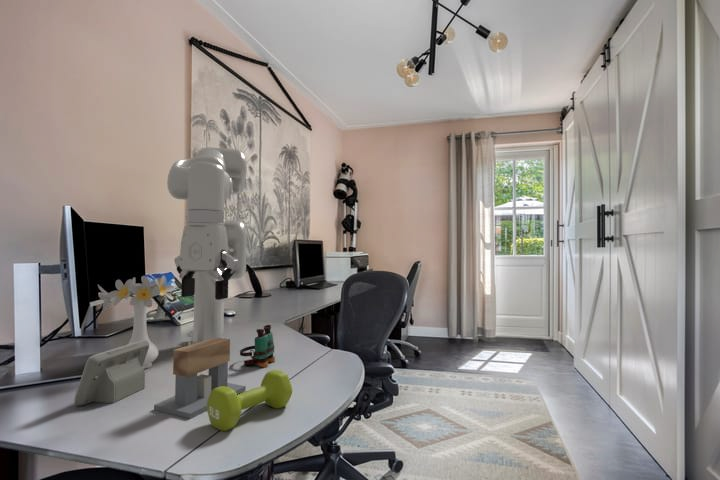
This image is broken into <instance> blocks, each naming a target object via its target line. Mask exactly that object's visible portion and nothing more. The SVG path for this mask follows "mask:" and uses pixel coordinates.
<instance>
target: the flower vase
mask: <svg viewBox="0 0 720 480" xmlns="http://www.w3.org/2000/svg"><path fill="white" fill-rule="evenodd" d="M140 281H141V283H138V282H137V283H136V277H133V278H130V279H126V281H125V283H123V281H122V280H121V279H117V280H115V288H116V289H117V290H112V291H110V292H107V290H105V289H104V288H103V287H102V286H100V285H99V284H97V287H98V290H100V292H98V293H97V294H98V298H99V299H100V300H102V301H103V302H102V310H103V312H105V311H106V310H108V305H109V304H110V302H111V300H112V299H114V301H113V303H112V305H113V306H118V305H119V303H120V302H121V301H122V300H124V299H125V300H128V299H129V298H130V297H131V298H130V301H129V305H130V306H133V327H132V328H133V329H132V335H131V338H130V340H129V341H128V343H127V345H128V344H131V343H135V342H138V341H143V340H146V341H148V342H149V349H148V352H147V355H146V358H145V361H144V363H143V366H142V368H143V369H144V370H146V369H148V368H150V367H152V365H153V362H154V361H156V359H157V358H158V356H159V353H160V352H159V350H158V346H156V345H155V344H154V343H153V342H152V341H151V340H150V338H149V337H150V336H149V335H148V329H147V312H148V311H147V309H148V308H151V307H153V300H152V298H153V297H156V296H159V295H160V296H162V297H163V296H165V297H166V298H168V299H169V300H171V301H173V300H174V297H173V295H172V294H171V293H172V292H174V291H175V289H176V288H175V286H174V285H172V284H171V285H170V284H167V278H166V276H165V275H162V276H161V277H156V278H154V279H153V280H151V281H150V279H149V278H148V277H147V276H146V275H142V276H141V280H140ZM170 292H171V293H170Z"/></svg>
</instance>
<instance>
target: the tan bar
mask: <svg viewBox="0 0 720 480" xmlns="http://www.w3.org/2000/svg"><path fill="white" fill-rule="evenodd" d="M225 338H226V337H224V338H213V339H210V340H206V341H203V342H199V343H196V344H192V345H189V346H188V345H186V346H182V347H179V348H176V349H173V356H172V357H173V359H172V360H173V363H172V364H173V365H172V366H173V367H172V370H173V371H172V372H173V373H172V375H175V376H176V375H180V376H185V377H189V376H191V375H194V374H197V375H198V374H199V373H202V372H204V371H207V370H209V369H210V368H212V367H215V366H218V365H220V364H223V363H226V362H228V363H229V362H230V361H231V360H230V359H231V357H230V355H231V352H230V351H231V339H230V338H227V339H225Z"/></svg>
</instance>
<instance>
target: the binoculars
mask: <svg viewBox="0 0 720 480" xmlns="http://www.w3.org/2000/svg"><path fill="white" fill-rule="evenodd" d="M271 329H272V325H271V324H266V325H264V326H263V328H257V329H256V334H257V336H256V337H254V345H251V346H245V347H243V348H242V349H240V350H239V355H240V356H241V357H250V358H251V359H246V360H244V361H243V363H244V366H250V365H257V366H258V367H260V368H266V367H268V366H269V363H274V362H275V361H276V359H275V357H276V356H274V353H275V344H274V342H275V341H274V335H273V334H274V333H273V332H272V331H271ZM249 351H250V352H249Z"/></svg>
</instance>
